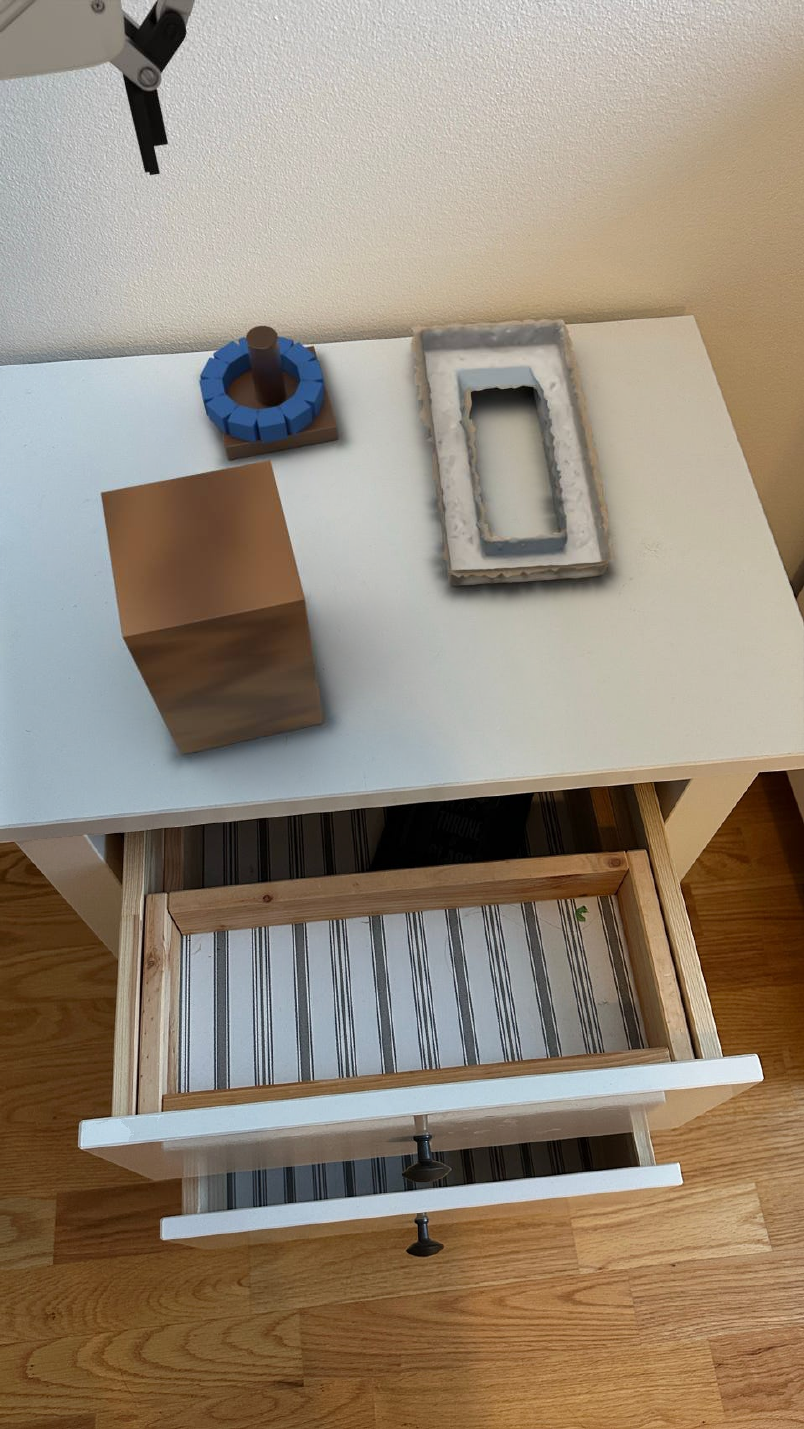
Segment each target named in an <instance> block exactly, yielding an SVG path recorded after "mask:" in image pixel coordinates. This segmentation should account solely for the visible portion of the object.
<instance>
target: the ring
mask: <svg viewBox="0 0 804 1429" xmlns="http://www.w3.org/2000/svg"><path fill="white" fill-rule="evenodd" d="M278 341H279V349H280V356H281V363H282V370H284V371H286V372H288V373H289V374H290V375H291V376H292V377H294V378H295V379H296V380H297V381H298V382H299V385H298V388H297V390H296V392H295V394H294V396H292V397H291V398H289V399H288V400H287V401H285V402H284V403H282V404H281V405H279V406H277V407H271V408H266V409H260V410H257V409H253V408H248V407H244V406H240V405H238V404H236V403H235V402H234V401H233V400H232V399H231V398H230V397H228V396H227V395H226V392H227V390H228V388H229V386H230V384H231V382H232V380H233V379H235V378H236V377H238V376H239V375H241V374H242V373H244V372H245V371H247V370H250V369H251V365H250V360H249V354H248V348H247V342H246V336H245V337H240V338H238V344H237V342H236V341H234V340H231V341H230V342H229V343H227V344H225V345H224V346H223V347H221V348H219V349H218V350H216V351H215V352H213V354H212V355H213V357H209V358H208V359H207V361H206V363H205V365H204V367H203V368H202V371H201V373H200V375H199V377H200V380H199V381H198V383H199V387H200V392H201V397H202V400H203V406H204V410H205V414H206V416H208V420H209V421H210V422H211V423H213V424H214V426H216V427H217V428H218V429H219V430H220V431H221V430H222V431H223V432H224V433H225V434H227V433H229V432H230V435H231V437H233V438H238V439H242V440H246V441H250V442H254V443H256V441H257V439H258V437H259V434H260V438H261V442H262V443H263V442H269V441H274V440H280V439H285V438H287V437H288V436H287V431H288V432H289V433H290V434H292V435H293V436H294V435H295V434H297V433H298V432H299V431H301V430H302V429H304V428H305V427H306V426H308V425H309V424H311V423H312V422H313V420H312V417H313V418H316V417H317V415H318V413H319V411H320V408H321V406H322V404H323V401H324V394H325V392H324V383H325V379H324V376H323V372H322V369H321V365H320V362H319V359H318V360H316V357H315V355H314V354H313V353H311V352H310V351H309V350H308V349H306V348H305V345H303V344H302V343H301V342H300V341H297V342H296V343H294V342H295V341H294V339H291V338H287V337H282V336H278ZM323 379H324V380H323ZM222 431H221V432H222Z"/></svg>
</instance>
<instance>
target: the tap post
mask: <svg viewBox="0 0 804 1429" xmlns="http://www.w3.org/2000/svg"><path fill="white" fill-rule="evenodd" d="M245 337H246V342H247V348H248V354H249V360H250V365H251V369H250V370H247V371H245V372H244V373H242V374H241V375H239V376H238V377H236V378H235V379H233V380H232V382H231V384H230V386H229V388H228V390H227V392H226V395H227V396H228V397H230V398H231V399H232V400H233V401H234V402H235V403H236V404H238V405H240V406H244V407H248V408H253V409H257V410H260V409H266V408H271V407H277V406H279V405H281V404H282V403H284V402H285V401H287V400H288V399H289V398H291V397H292V396H294V394H295V392H296V390H297V388H298V385H299V382H298V381H297V380H296V379H295V378H294V377H292V376H291V375H290V374H289V373H288V372H286V371H284V370H282V363H281V356H280V349H279V341H278V337H279V334H278V333H277V331H276V329H274V328H273V327H271V326H268V325H258V326H255V327H254V326H253V327H252V328H251V329H249V330H248V331H247V333H246V335H245ZM304 347H305V346H304ZM305 348H306V349H308V350H309V351H310V352H311V353H313V354H314V355H315V357H316V360H318V361H319V359H318V356H317V352H316V349H315V346H314V345H310V346H306V347H305ZM323 380H324V381H325V379H324V378H323ZM324 392H325V394H324V401H323V404H322V406H321V408H320V411H319V413H318V415H317V417H316V418H313V417H312V420H313V422H312V423H311V424H309V425H308V426H306V427H305V428H304V429H302V430H301V431H299V432H298V433H297V434H295V435H294V436H293V435H292V434H290V433H289V432H288V431H287V436H288V437H287V438H285V439H280V440H274V441H269V442H263V443H262V442H261V438H260V434H259V437H258V439H257V441H256V443H254V442H250V441H246V440H242V439H238V438H233V437H231V435H230V432H229V433H227V434H225V433H224V432H223V431H222V430H220V432H221V436H222V439H223V445H224V449H225V454H226V459H227V460H228V461H231V460H235V459H242V458H246V457H252V456H256V455H257V456H258V455H262V454H267V453H272V452H277V451H283V450H288V449H294V448H298V447H303V446H310V445H314V444H320V443H324V442H325V443H326V442H330V441H334V440H335V441H337V440H338V439H339V432H338V431H339V430H338V424H337V421H336V417H335V414H334V410H333V406H332V404H331V401H330V400H331V399H330V397H329V394H328V390H327V386H326V383H325V382H324Z"/></svg>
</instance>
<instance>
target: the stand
mask: <svg viewBox="0 0 804 1429" xmlns="http://www.w3.org/2000/svg"><path fill="white" fill-rule="evenodd" d="M100 497H101V503H102V510H103V517H104V524H105V530H106V538H107V544H108V551H109V557H110V565H111V571H112V577H113V585H114V592H115V597H116V605H117V612H118V617H119V624H120V631H121V637H122V639H123V641H124V643H125V645H126V647H127V649H128V652H129V653H130V656H131V657H132V659H133V662H134V664H135V666H136V668H137V670H138V672H139V674H140V676H141V678H142V680H143V682H144V684H145V685H146V686H145V687H146V688H147V690H148V692H149V694H150V696H151V698H152V701H153V702H154V704H155V706H156V708H157V710H158V712H159V714H160V716H161V718H162V720H163V723H165V726H166V728H167V730H168V733H169V734H170V736H171V738H172V740H173V742H174V744H175V746H176V749H177V751H178V752H179V755H180V756H182V755H187V754H193V753H197V752H202V751H206V750H210V749H215V748H218V747H224V746H228V745H232V744H237V743H241V742H246V741H250V740H254V739H255V740H256V739H259V738H263V737H269V736H272V735H278V734H281V733H286V732H290V731H295V730H299V729H304V728H309V727H313V726H317V725H321V724H322V725H323V724H324V715H323V708H322V703H321V702H322V701H321V697H320V689H319V683H318V676H317V670H316V669H317V668H316V663H315V655H314V649H313V642H312V637H311V629H310V623H309V616H308V612H307V611H308V609H307V605H306V604H307V603H306V598H305V594H304V590H303V585H302V582H301V578H300V573H299V570H298V569H299V568H298V565H297V561H296V557H295V553H294V550H293V549H294V548H293V545H292V542H291V537H290V534H289V529H288V526H287V525H288V524H287V521H286V517H285V513H284V509H283V505H282V500H281V497H280V492H279V489H278V484H277V481H276V476H275V472H274V468H273V465H272V461H271V460H270V459H269V460H264V461H258V462H253V463H248V464H243V465H238V466H237V465H236V466H232V467H227V468H222V469H217V470H211V471H207V472H202V473H195V474H191V475H185V476H179V477H174V478H169V479H165V480H160V481H154V482H147V483H144V484H139V485H132V486H128V487H123V488H118V489H112V490H107V491H103V492H102V491H101V492H100Z"/></svg>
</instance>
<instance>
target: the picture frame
mask: <svg viewBox="0 0 804 1429" xmlns="http://www.w3.org/2000/svg"><path fill="white" fill-rule="evenodd" d="M410 329H411V331H412V333H413V337H412V339H411V340H410V348H411V349H410V350H411V353H412V357H413V359H414V360H415V361H417V365H414V366H413V367H414V369H415V370H416V371H417V372H416V373H415V374H414V375H413V377H414V384H415V385H416V386H418V387H419V391H418V392H419V393H418V397H417V401H421V400H422V409H421V411H420V413H419V417H418V418H419V419H422V420H423V426H424V427H426V428H428V429H429V435H430V437H429V438H427V440H426V442H429V443H430V444H431V448H432V449H431V450H432V455H431V465H432V471H433V476H434V477H433V482H435V483H436V487H437V488H436V493H437V498H438V503H437V506H438V511H439V518H440V525H441V533H442V534H441V538H442V543H443V546H442V549H443V551H442V553H441V555H442V559H443V560H444V566H445V569H446V573H447V574H446V575H447V580H448V582H449V584H450V586H470V585H471V586H474V585H486V584H491V585H493V584H502V583H508V584H512V583H523V582H535V581H536V582H537V581H539V582H541V581H542V582H543V581H552V580H565V579H581V578H591V577H598V576H602V575H605V573H606V570H607V568H608V565H609V563H610V564H613V561H614V559H615V553H614V551H613V549H612V545H613V541H612V540H611V539H610V538H609V535H610V532H609V530H610V524H609V521H608V520H607V519H608V516H609V511H608V510H607V508H608V504H607V502H606V501H605V499H603V495H604V491H603V489H602V487H603V485H602V483H601V475H600V471H599V469H598V462H597V461H598V459H599V456H598V454H597V452H596V442H594V441H593V427H592V425H591V424H590V422H589V420H588V418H587V413H586V410H587V407H586V405H585V404H584V402H585V401H586V395H585V392H584V390H583V388H582V387H581V386H580V381H581V377H580V376H579V374H580V369H579V368H580V367H579V363H578V361H577V360H575V359H574V357H575V354H576V352H575V351H573V350H572V347H573V343H572V342H573V341H572V339H571V336H570V334H569V329H568V328H567V325H566V323H565V321H564V320H563V319H562V318H559V319H550V318H549V319H548V318H541V319H539V320H536V319H532V318H528V319H527V318H526V319H523V320H522V321H521V320H516V319H512V320H507V321H499V322H486V321H485V322H484V321H480V322H475V323H472V324H471V323H469V322H468V323H466V324H462V323H460V322H457V323H456V322H455V323H448V324H445V325H438V324H433V325H431V326H429V327H428V326H422V325H415V326H412V327H410ZM522 386H524V387H531V388H532V387H533V394H534V399H535V404H536V414H537V417H538V420H539V421H538V422H539V428H540V431H541V436H542V445H543V450H544V455H545V460H546V462H547V471H548V473H549V481H550V486H551V490H552V499H553V503H554V508H555V514H556V519H557V526H558V530H559V532H555V531H554V532H552V534H543V533H542V534H539V535H536V536H532V537H510V538H503V537H501V536H499V535H493V536H491V534H490V531H489V523H486V522H485V513H486V511H487V509H486V507H485V506H484V504H483V502H482V499H481V498H482V497H481V495H480V494H481V492H482V487H481V486H480V484H479V479H480V476H479V475H478V474H477V470H476V462H477V457H476V453H477V452H478V450H477V449H476V448H475V446H474V442H475V440H476V439H477V438H476V436H475V435H474V433H475V431H476V430H477V428H476V426H474V424H473V420H472V419H470V411H471V409H472V405H473V401H472V396H471V395H472V394H471V393H472V392H474V391H476V392H477V391H478V392H479V391H483V390H485V389H494V388H495V389H496V388H498V389H500V390H504V389H510V388H512V389H516V388H520V387H522Z"/></svg>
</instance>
